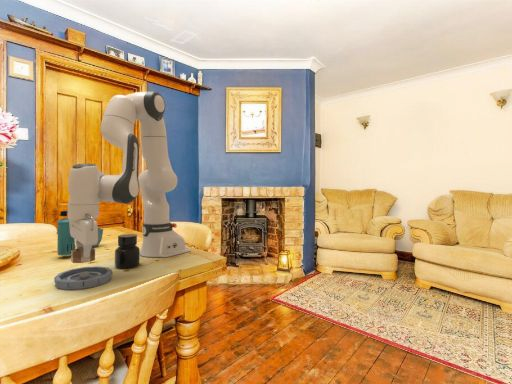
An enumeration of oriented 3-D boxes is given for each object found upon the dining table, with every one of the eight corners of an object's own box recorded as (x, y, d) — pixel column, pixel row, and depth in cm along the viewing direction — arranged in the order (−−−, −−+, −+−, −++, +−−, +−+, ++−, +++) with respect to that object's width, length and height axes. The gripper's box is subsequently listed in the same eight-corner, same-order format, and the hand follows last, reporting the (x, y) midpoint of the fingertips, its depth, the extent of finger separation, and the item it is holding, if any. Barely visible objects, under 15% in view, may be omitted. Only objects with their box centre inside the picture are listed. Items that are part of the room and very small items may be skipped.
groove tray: (103, 270, 108) (103, 263, 108) (118, 282, 97) (118, 273, 97) (50, 280, 97) (50, 271, 97) (61, 294, 86) (60, 284, 86)
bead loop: (91, 256, 101) (91, 246, 101) (96, 260, 96) (96, 250, 96) (69, 259, 97) (69, 249, 97) (74, 264, 92) (74, 253, 92)
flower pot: (103, 246, 147) (103, 228, 146) (85, 249, 139) (85, 230, 139) (94, 244, 151) (94, 226, 151) (76, 247, 144) (76, 229, 144)
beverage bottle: (66, 259, 122) (66, 211, 121) (53, 258, 123) (52, 211, 122) (79, 255, 128) (78, 210, 127) (66, 254, 129) (65, 209, 129)
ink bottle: (136, 261, 121) (136, 232, 121) (144, 266, 115) (144, 235, 114) (110, 265, 115) (110, 235, 115) (117, 270, 108) (117, 238, 108)
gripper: (104, 215, 91) (103, 259, 91) (86, 209, 106) (85, 247, 106) (80, 216, 86) (80, 263, 87) (65, 210, 101) (65, 250, 102)
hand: (83, 254), depth 96 cm, fingers closed on bead loop, 6 cm apart
